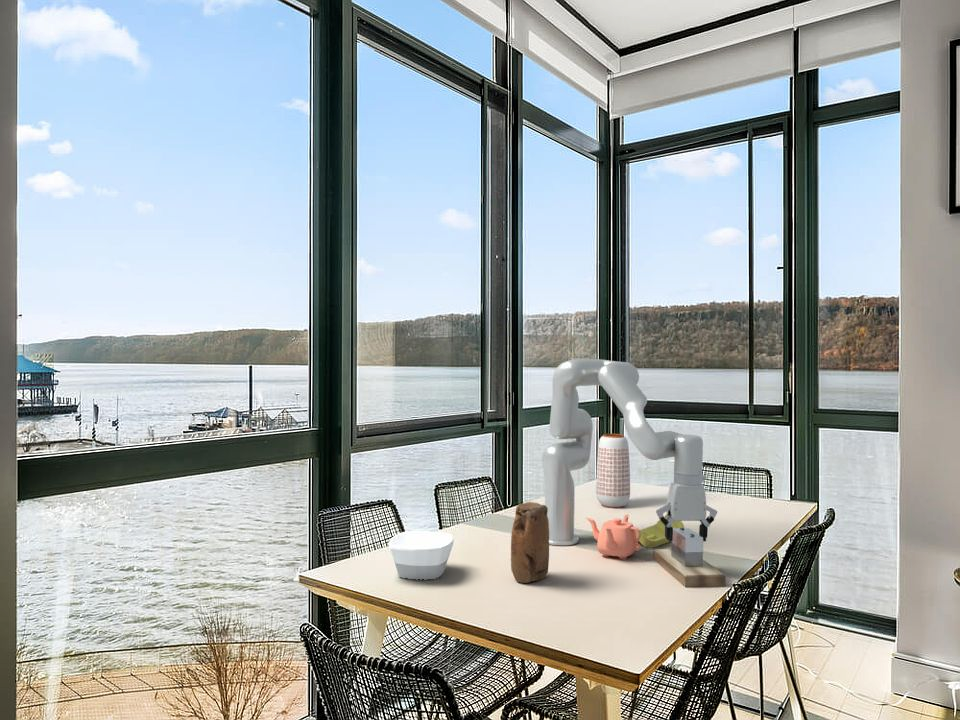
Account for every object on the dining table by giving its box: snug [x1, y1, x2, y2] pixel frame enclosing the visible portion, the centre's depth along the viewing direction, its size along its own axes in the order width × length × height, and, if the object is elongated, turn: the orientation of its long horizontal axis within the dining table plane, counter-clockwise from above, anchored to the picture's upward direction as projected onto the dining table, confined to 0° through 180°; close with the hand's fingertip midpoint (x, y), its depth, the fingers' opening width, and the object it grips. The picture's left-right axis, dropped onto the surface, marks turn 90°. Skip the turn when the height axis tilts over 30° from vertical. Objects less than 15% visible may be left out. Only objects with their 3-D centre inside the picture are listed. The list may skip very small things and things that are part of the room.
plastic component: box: [633, 514, 685, 549], centre depth 227 cm, size 20×7×10 cm
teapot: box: [585, 514, 642, 561], centre depth 210 cm, size 14×14×11 cm
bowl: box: [388, 531, 455, 581], centre depth 192 cm, size 18×18×9 cm
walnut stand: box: [652, 548, 727, 588], centre depth 195 cm, size 11×24×3 cm, turn 6°
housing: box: [670, 527, 704, 567], centre depth 195 cm, size 5×10×8 cm, turn 6°
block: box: [510, 501, 550, 584], centre depth 188 cm, size 11×8×20 cm
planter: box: [595, 433, 631, 509], centre depth 276 cm, size 13×13×28 cm
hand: (685, 540), depth 195 cm, fingers open, 9 cm apart
